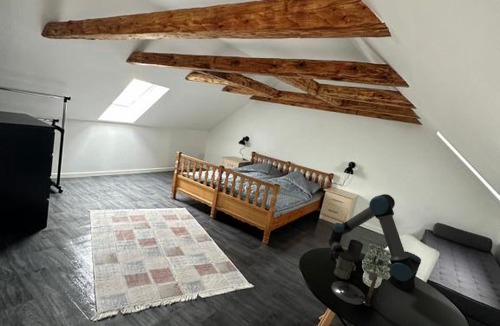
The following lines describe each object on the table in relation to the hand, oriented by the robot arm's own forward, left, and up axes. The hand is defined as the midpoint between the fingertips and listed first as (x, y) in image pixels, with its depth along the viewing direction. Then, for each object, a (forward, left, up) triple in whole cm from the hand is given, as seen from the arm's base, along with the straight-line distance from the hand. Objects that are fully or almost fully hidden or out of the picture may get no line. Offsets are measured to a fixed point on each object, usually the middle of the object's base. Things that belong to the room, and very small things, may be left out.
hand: (346, 267), depth 180 cm
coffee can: (0, -4, -8) cm, 9 cm away
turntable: (0, +12, -10) cm, 15 cm away
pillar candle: (-16, -32, -10) cm, 37 cm away
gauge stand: (-9, +19, -10) cm, 23 cm away
